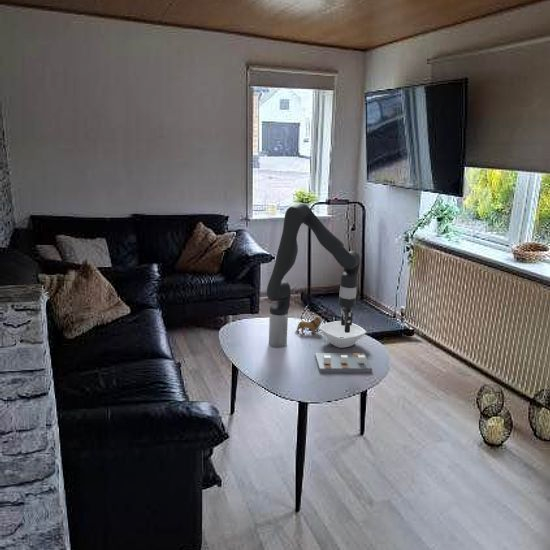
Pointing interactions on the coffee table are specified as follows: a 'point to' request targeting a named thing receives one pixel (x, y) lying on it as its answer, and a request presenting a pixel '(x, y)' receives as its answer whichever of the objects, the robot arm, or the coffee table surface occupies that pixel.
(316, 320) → the lion figurine
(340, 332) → the bowl
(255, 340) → the coffee table surface
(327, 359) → the switch
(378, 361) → the coffee table surface
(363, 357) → the switch
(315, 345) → the coffee table surface
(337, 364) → the switch unit
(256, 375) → the coffee table surface
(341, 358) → the switch
